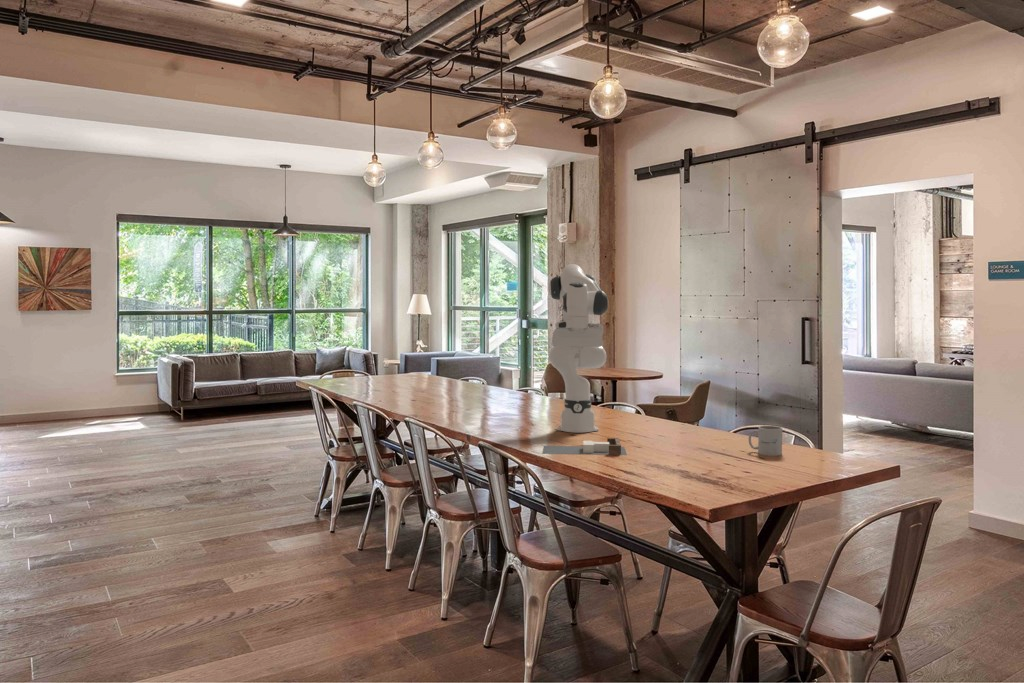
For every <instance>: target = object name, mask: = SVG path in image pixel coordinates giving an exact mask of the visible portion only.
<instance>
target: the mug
mask: <svg viewBox="0 0 1024 683" xmlns="http://www.w3.org/2000/svg"><path fill="white" fill-rule="evenodd" d="M755 433H756V434H758V438H757V439H758V442H757V443H758V444H757V446H755V445H753V443H752V436H753V434H755ZM748 445H749V446H750V448H751V449H753V450H758V451H757V452H758V453H757V454H759V455H761V456H768V457H769V456H771V457H777V456H782V455H783V427H780V426H776V425H775V426H774V425H759V426H758V429H754V430H752V431H751V432H750V433H749V434H748Z"/></svg>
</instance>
